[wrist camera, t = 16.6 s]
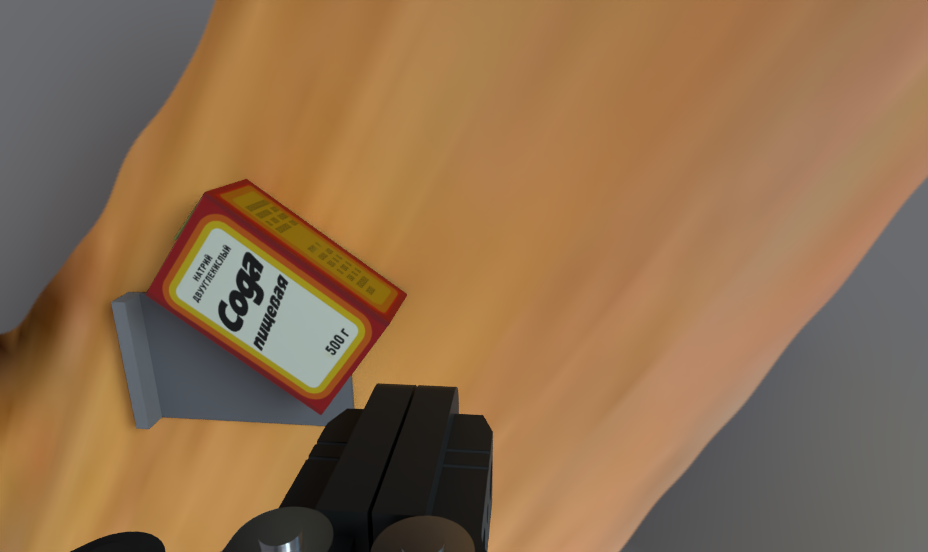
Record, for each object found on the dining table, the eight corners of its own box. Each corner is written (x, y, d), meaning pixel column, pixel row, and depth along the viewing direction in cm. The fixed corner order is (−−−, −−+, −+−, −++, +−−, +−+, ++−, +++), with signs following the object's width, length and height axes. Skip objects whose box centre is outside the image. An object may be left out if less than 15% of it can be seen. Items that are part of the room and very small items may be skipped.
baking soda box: (321, 415, 47) (141, 291, 46) (345, 377, 53) (187, 267, 52) (389, 323, 44) (200, 188, 43) (407, 294, 51) (242, 176, 49)
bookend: (128, 292, 54) (110, 302, 52) (346, 299, 52) (337, 310, 50) (152, 414, 58) (136, 428, 55) (355, 425, 56) (347, 440, 53)
